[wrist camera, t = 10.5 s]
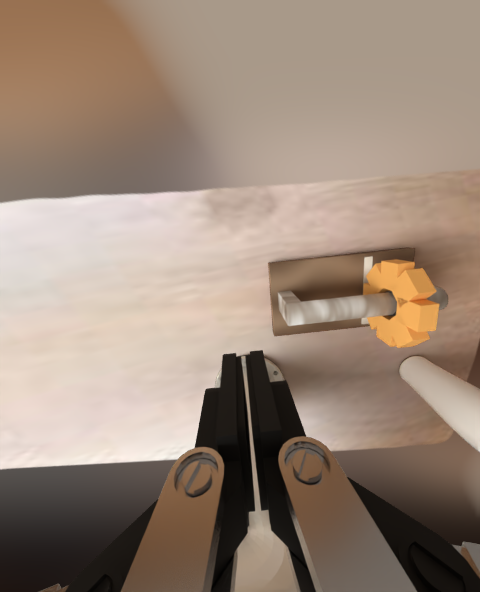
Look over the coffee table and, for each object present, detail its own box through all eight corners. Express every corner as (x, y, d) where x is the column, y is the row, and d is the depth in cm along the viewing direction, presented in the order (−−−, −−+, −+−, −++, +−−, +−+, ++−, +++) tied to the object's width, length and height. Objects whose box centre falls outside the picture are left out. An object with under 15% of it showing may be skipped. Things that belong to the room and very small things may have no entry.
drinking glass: (388, 380, 42) (469, 458, 27) (401, 348, 40) (495, 413, 26) (422, 385, 42) (519, 464, 28) (436, 353, 41) (547, 420, 26)
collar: (373, 324, 36) (430, 361, 26) (361, 325, 36) (413, 363, 26) (378, 256, 33) (444, 267, 23) (364, 257, 33) (425, 269, 23)
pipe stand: (400, 318, 38) (449, 344, 30) (273, 332, 39) (284, 361, 30) (407, 247, 35) (465, 252, 26) (268, 262, 35) (279, 273, 26)
